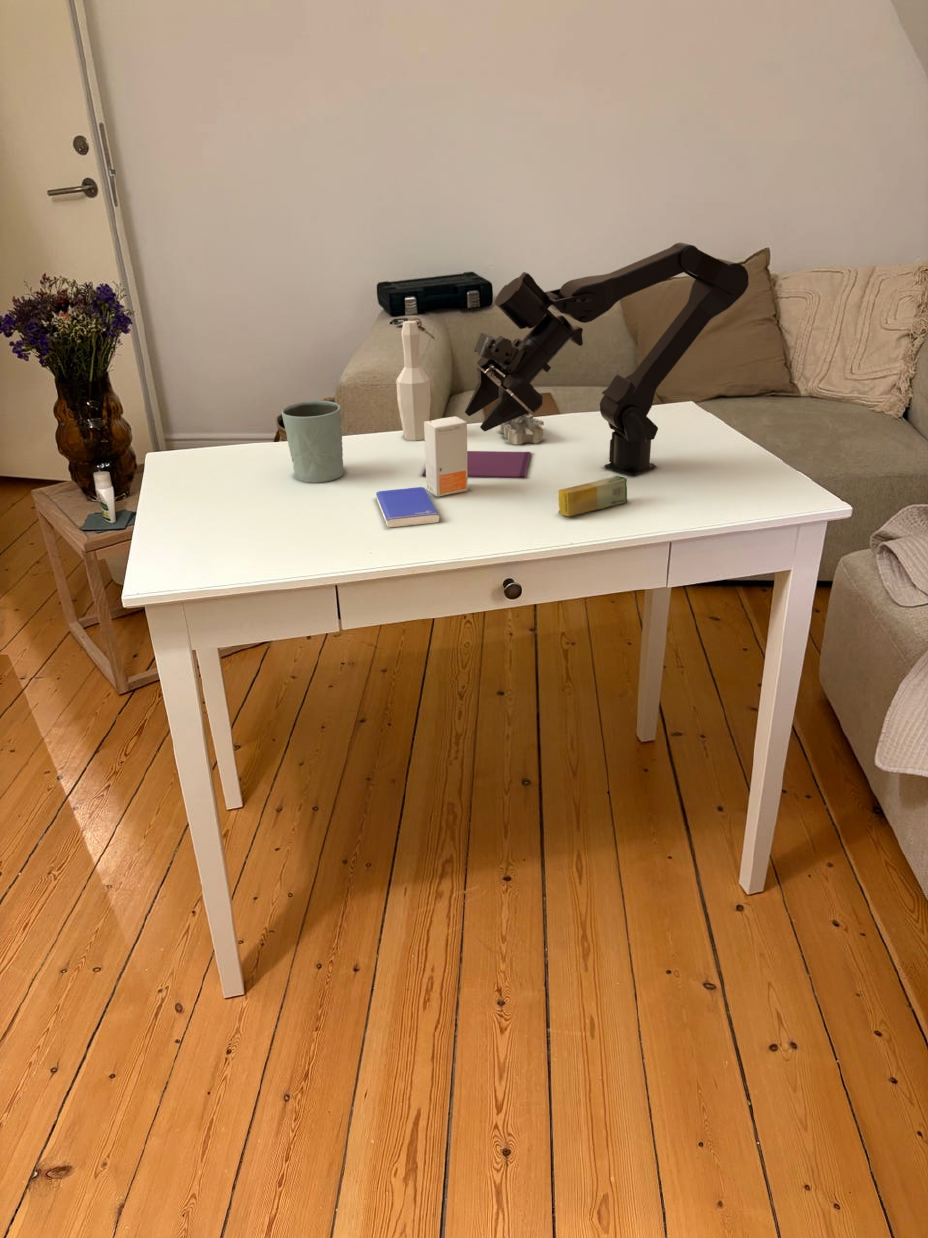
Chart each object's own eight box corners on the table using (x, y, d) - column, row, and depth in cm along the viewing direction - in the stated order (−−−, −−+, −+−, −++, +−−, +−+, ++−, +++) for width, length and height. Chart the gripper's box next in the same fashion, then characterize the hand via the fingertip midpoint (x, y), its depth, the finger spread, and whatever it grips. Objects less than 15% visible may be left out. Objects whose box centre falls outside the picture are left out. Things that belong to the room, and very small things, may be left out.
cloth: (530, 453, 179) (530, 451, 179) (524, 478, 168) (524, 475, 168) (434, 452, 182) (434, 450, 181) (422, 476, 170) (422, 473, 170)
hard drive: (438, 512, 151) (424, 486, 161) (386, 518, 149) (375, 491, 160) (439, 522, 151) (425, 495, 162) (387, 527, 150) (376, 500, 161)
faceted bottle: (431, 441, 188) (426, 324, 177) (398, 442, 188) (391, 325, 177) (432, 431, 193) (427, 317, 183) (401, 432, 193) (393, 318, 183)
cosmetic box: (437, 498, 161) (434, 427, 155) (426, 490, 164) (422, 421, 158) (469, 491, 163) (467, 421, 157) (458, 483, 166) (455, 415, 161)
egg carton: (545, 443, 184) (545, 422, 182) (506, 446, 184) (506, 425, 182) (535, 427, 194) (535, 406, 192) (497, 429, 193) (497, 409, 191)
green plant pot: (352, 479, 170) (346, 412, 164) (295, 487, 167) (287, 419, 161) (339, 462, 178) (333, 397, 173) (284, 469, 175) (276, 404, 170)
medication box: (617, 499, 158) (617, 475, 156) (628, 502, 156) (628, 478, 154) (557, 513, 152) (557, 488, 151) (568, 517, 150) (567, 492, 149)
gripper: (487, 304, 161) (425, 376, 163) (523, 325, 145) (454, 405, 147) (532, 348, 166) (472, 418, 169) (571, 373, 150) (504, 450, 153)
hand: (474, 421), depth 159 cm, fingers open, 9 cm apart
